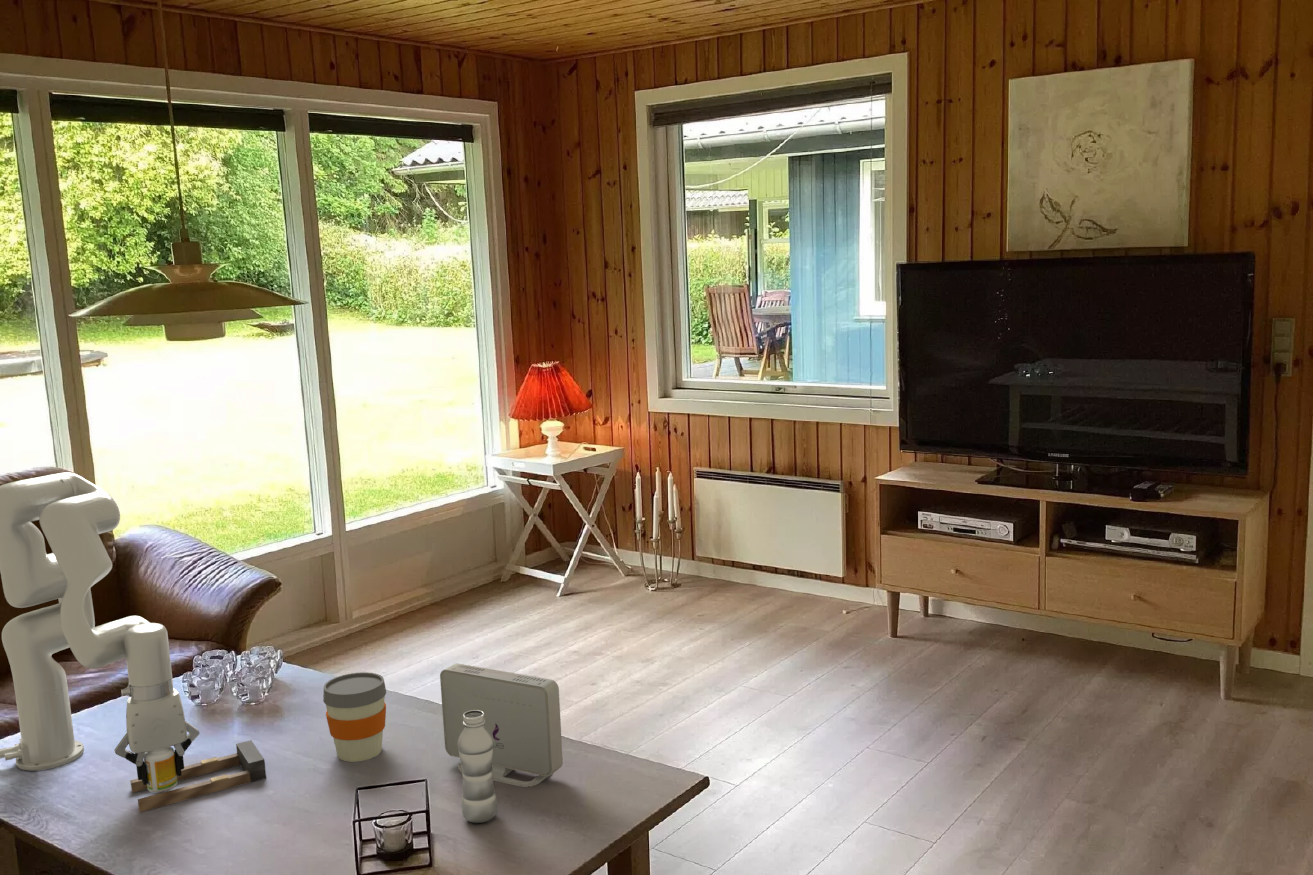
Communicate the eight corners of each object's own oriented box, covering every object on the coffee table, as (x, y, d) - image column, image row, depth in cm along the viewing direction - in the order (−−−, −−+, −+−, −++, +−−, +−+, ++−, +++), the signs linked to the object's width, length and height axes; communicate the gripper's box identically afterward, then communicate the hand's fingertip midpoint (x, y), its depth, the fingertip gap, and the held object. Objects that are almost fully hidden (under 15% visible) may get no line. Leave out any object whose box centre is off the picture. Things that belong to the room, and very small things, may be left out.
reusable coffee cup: (399, 754, 230) (393, 685, 227) (338, 771, 223) (332, 700, 221) (379, 734, 240) (374, 667, 238) (320, 749, 234) (314, 681, 231)
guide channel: (140, 812, 209) (137, 792, 209) (131, 789, 219) (129, 770, 218) (266, 778, 221) (264, 759, 221) (253, 758, 231) (251, 740, 230)
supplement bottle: (183, 780, 219) (178, 733, 217) (168, 793, 213) (163, 745, 212) (157, 780, 219) (151, 733, 218) (141, 793, 214) (136, 745, 212)
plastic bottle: (481, 806, 207) (474, 703, 204) (506, 816, 203) (499, 712, 199) (454, 820, 202) (446, 715, 199) (479, 831, 198) (472, 724, 194)
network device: (439, 768, 223) (432, 672, 220) (465, 750, 231) (459, 657, 228) (546, 792, 211) (541, 692, 208) (571, 773, 219) (566, 675, 216)
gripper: (104, 706, 206) (115, 798, 209) (203, 684, 214) (212, 773, 217) (99, 693, 212) (110, 782, 215) (195, 672, 221) (204, 759, 224)
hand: (161, 777), depth 216 cm, fingers closed on supplement bottle, 5 cm apart
